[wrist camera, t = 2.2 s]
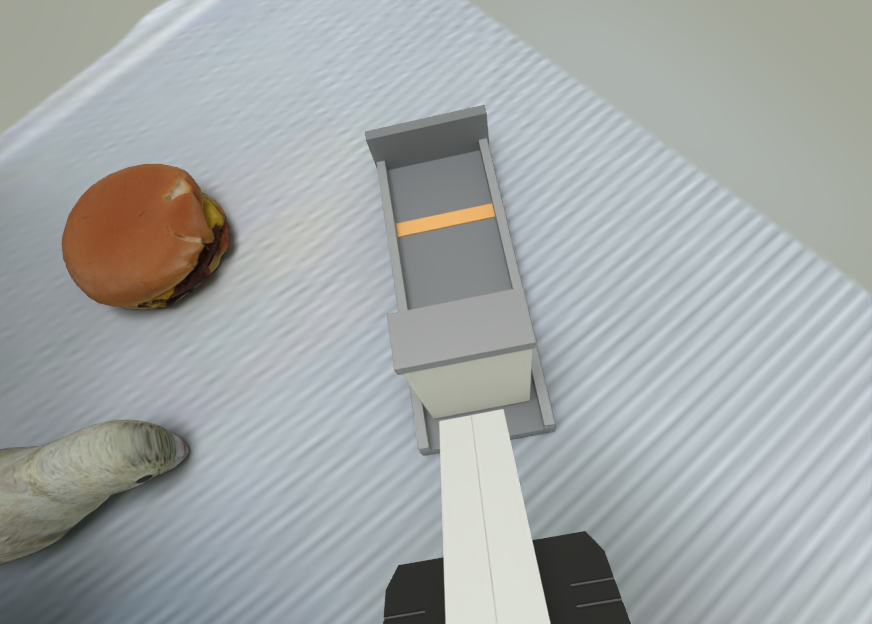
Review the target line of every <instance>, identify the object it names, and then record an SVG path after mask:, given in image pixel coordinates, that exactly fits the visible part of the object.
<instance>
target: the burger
mask: <svg viewBox="0 0 872 624" xmlns="http://www.w3.org/2000/svg"><path fill="white" fill-rule="evenodd" d="M227 233H228V224H227V222H226V217H225V214H224V212H223V210H222V208H221V207H220V205H219V204H218V203H217V202H216V201H215V200H213V199H212V198H210V197H209V196H207V195H206V194H204V193H202V192H201V190H200V188H199V186H198V185H197V183H196V182H195V181H194V179H193V178H192V177H191V176H190V175H189V174H188V173H187V172H186V171H185V170H182V169H180V168H177V167H173V166H168V165H163V164H143V165H138V166H132V167H128V168H125V169H123V170H120V171H118V172H115V173H113V174H110V175H108V176H106V177H105V178H103V179H101V180H100V181H98V182H97V183H95V184H94V185H93V186H91V187H90V188H89V189H88V190H87V191H86V192H85V193H84V194H83V195H82V196H81V198H80V199H79V200H78V202H77V203H76V205H75V206H74V208H73V209H72V211H71V212H70V214H69V217H68V219H67V222H66V226H65V229H64V233H63V237H62V251H63V259H64V261H65V263H66V268H67V270H68V272H69V274H70V276H71V278H72V279H73V280H74V282H75V283H76V284H77V286H78V287H79V288H80V289H81V290H82V291H83V292H84V293H85V294H86V295H87V296H88V297H90V298H91V299H93V300H95V301H96V302H98V303H101V304H105V305H109V306H113V307H122V308H129V309H153V308H161V307H168V306H171V305H172V304H174V303H175V302H177V301H178V300H180V299H181V298H182V297H184V296H185V295H186V294H187V293H188V292H191V291H192V290H193V289H194V288H195V287H197V286H198V285H199V284H200V283H202V282H203V281H204V280H205V279H206V278H207V277H208V276H209V275H210V274H211V273H212V272H213V271H214V270H215V269H216V268H217V266H218V265H219V264H220V259H221V257H222V254H223V253H225V252H226V250H227V247H228V245H229V236H228V235H227Z"/></svg>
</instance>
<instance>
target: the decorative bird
mask: <svg viewBox="0 0 872 624" xmlns="http://www.w3.org/2000/svg"><path fill="white" fill-rule="evenodd" d="M188 454H189V449H188V447H187V446H186V444H185V443H184V442H183V441H182V440H181V439H180V438H179V437H178V436H177V435H175V434H173V433H172V432H169V431H168V430H166V429H164V428H163V427H160V426H157V425H155V424H152V423H148V422H143V421H138V420H116V421H109V422H104V423H100V424H95V425H92V426H89V427H86V428H83V429H81V430H79V431H76V432H74V433H72V434H70V435H68V436H65V437H63V438H61V439H58V440H56V441H54V442H52V443H49V444H45V445H42V446H34V447H14V448H6V449H0V564H2V563H6V562H10V561H12V560H15V559H18V558H21V557H23V556H26V555H29V554H31V553H34V552H37V551H39V550H42V549H44V548H45V547H47V546H49V545H51V544H53V543H55V542H56V541H58V540H59V539H61V538H62V537H63V536H64V535H65V534H66V533H67V532H68V531H69V530H70V529H72V528H73V527H74V526H75V525H76V524H77V523H78V522H80V521H81V520H82V519H83V518H84V517H85V516H86V515H88V514H89V513H91V512H92V511H94V510H95V509H96V508H97V507H99V506H100V505H101V504H102V503H103V502H104V501H106V500H107V499H108V498H109V497H110V495H111V494H115V493H119V492H122V491H125V490H128V489H131V488H134V487H137V486H140V485H142V484H143V483H145V482H147V481H149V480H150V479H152V478H154V477H155V476H157V475H160V474H162V473H164V472H166V471H169V470H171V469H173V468H174V467H175V466H177V465H178V464H179V463H180V462H182V461H183V460H184V459H185V458H186V456H187V455H188Z"/></svg>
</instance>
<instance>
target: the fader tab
mask: <svg viewBox="0 0 872 624" xmlns="http://www.w3.org/2000/svg"><path fill="white" fill-rule="evenodd" d="M387 320H388V327H389V334H390V342H391V349H392V356H393V363H394V370H395V371H396V373H397V374H398V375H400V374H402V375H403V376H404V378H405V379H406V381H407V382H408V383H409V385H410V386H411V388H412V389H413V390H414V392H415V393H416V395H417V396H418V397H419V399H420V400H421V402H422V403H423V404H424V406H425V407H426V409H427V410H428V412H429V413H430V414H431V416H432V417H433V419H435V418H441V417H446V416H451V415H457V414H462V413H467V412H472V411H478V410H483V409H488V408H494V407H499V406H504V405H509V404H515V403H520V402H525V401H530V384H531V363H532V349H534V348H536V340H535V336H534V332H533V328H532V324H531V319H530V315H529V311H528V307H527V303H526V298H525V294H524V290H523V287H521V288H516V289H511V290H506V291H501V292H496V293H491V294H486V295H481V296H476V297H471V298H466V299H461V300H456V301H452V302H447V303H442V304H437V305H432V306H427V307H422V308H417V309H412V310H407V311H402V312H397V313H392V314H387Z"/></svg>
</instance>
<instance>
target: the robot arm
mask: <svg viewBox="0 0 872 624" xmlns="http://www.w3.org/2000/svg"><path fill="white" fill-rule="evenodd" d="M439 430H440V461H441V492H442V524H443V555H444V558H438V559H432V560H426V561H421V562H415V563H409V564H403V565H398V567H397V569H396V571H395V573H394V575H393V577H392V579H391V581H390V583H389V585H388V587H387V589H386V596H385V608H384V621H383V624H631V623H630V620H629V618H628V615H627V612H626V609H625V607H624V604H623V602H622V599H621V596H620V593H619V590H618V587H617V585H616V582H615V580H614V577H613V573H612V571H611V568H610V565H609V562H608V560H607V557H606V554H605V551H604V550H603V549H602V548H601V547H600V546H599V545H598V544H597V543H596V542H595V541H594V540H593V539H592V538H591V537H590V536H589V535H588V534H587V533H586V531H583V532H578V533H572V534H566V535H560V536H555V537H549V538H543V539H537V540H532V537H531V533H530V528H529V523H528V519H527V514H526V510H525V505H524V501H523V496H522V491H521V487H520V482H519V478H518V473H517V469H516V464H515V459H514V455H513V450H512V446H511V441H510V437H509V432H508V428H507V423H506V418H505V414H504V409H501V410H495V411H490V412H485V413H480V414H474V415H469V416H464V417H459V418H453V419H448V420H443V421H439Z"/></svg>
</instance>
